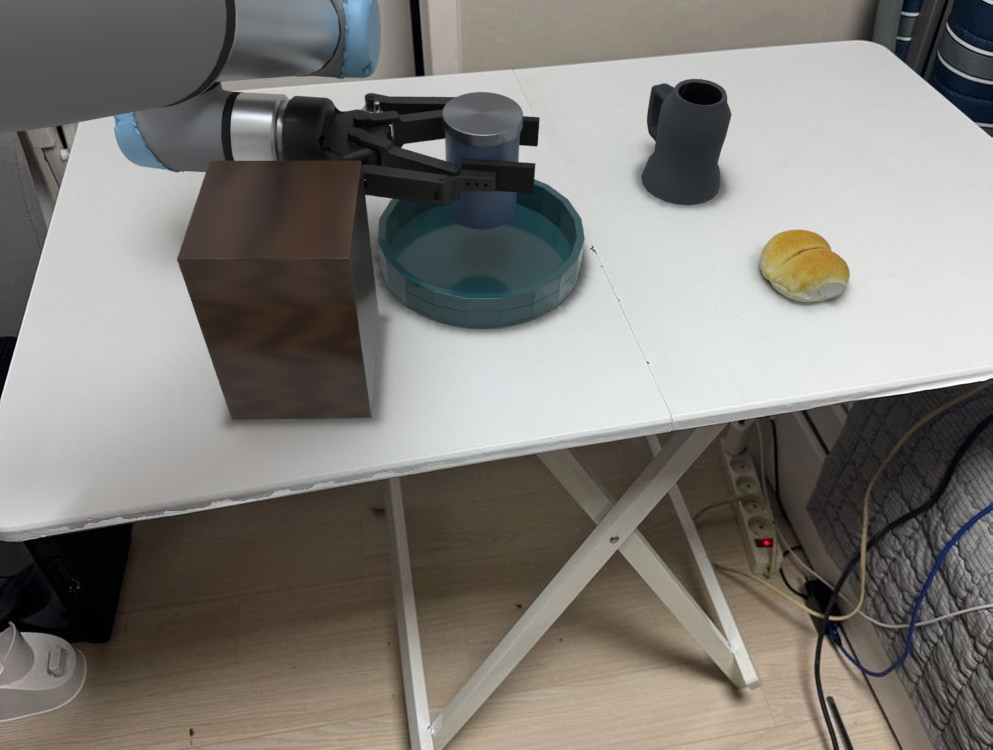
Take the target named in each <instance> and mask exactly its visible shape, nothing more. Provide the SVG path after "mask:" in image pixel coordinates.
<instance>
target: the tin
mask: <svg viewBox="0 0 993 750" xmlns="http://www.w3.org/2000/svg"><path fill="white" fill-rule="evenodd" d="M454 97H455V98H453V99H452V100H450V101H449V102H448V103H447V104H446V105H445V107H444V108H443V111H442V124H443V129H444V131H445V139H444V148H445V149H444V150H445V152H444V153H445V155H444V156H445V161H447V162H451V163H454V164H457V165H459V166H460V169H461V162H462V158H467V159H481V160H496V161H510V162H520V161H519V160H520V145H519V142H520V132H521V130H522V127H523V116H524V111H523V109H522V107H521V106H520V104H518V102H517V101H516V100H514V99H512V98H510V97H508V96H506V95H504V94H500V93H494V92H489V91H476V92H475V91H474V92H467V93H463V94H460V95H457V96H454ZM516 201H517V192H503V191H493V192H483V191H482V192H480V191H466V190H460V199H459V200H457V201H451V200H450V204H449V205H447V211H448V214H449V216H450V217H451V218H452V219H453V220H454V221H455V222H456V223H458V224H460V225H462V226H464V227H467V228H471V229H480V230H485V229H493V228H497V227H500V226H502V225H504V224H506V223H508V222H509V221H510V220H511V219H512V218H513V217H514V215H515V212H516Z"/></svg>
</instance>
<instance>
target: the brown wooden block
mask: <svg viewBox="0 0 993 750" xmlns="http://www.w3.org/2000/svg"><path fill="white" fill-rule="evenodd" d="M366 198H367V197H366V195H365V189H364V180H363V171H362V163H361V161H209V164H208V167H207V170H206V172H204V176H203V180H202V183H201V186H200V189H199V192H198V195H197V198H196V200H195V204H194V206H193V208H192V209H193V210H192V213H191V216H190V219H189V221H188V225H187V228H186V231H185V233H184V235H183V236H184V237H183V239H182V243H181V245H180V247H179V248H180V249H179V252H178V255H177V257H176V261H177V263H178V267H179V269H180V272H181V275H182V278H183V281H184V284H185V288H186V289H187V293H188V295H189V298H190V302H191V304H192V308H193V310H194V313H195V316H196V320H197V323H198V325H199V328H200V331H201V334H202V337H203V340H204V342H205V346H206V349H207V352H208V354H209V358H210V360H211V364H212V366H213V369H214V372H215V375H216V379H217V380H218V383H219V387H220V390H221V392H222V396H223V398H224V401H225V404H226V408H227V410H228V413H229V417H230V418H231V420H234V421H235V420H295V419H297V420H298V419H299V420H300V419H301V420H302V419H303V420H304V419H305V420H306V419H307V420H308V419H309V420H311V419H371V418H372V416H373V404H374V391H375V381H376V380H375V379H376V369H377V368H376V367H377V356H378V354H377V353H378V343H379V329H380V315H379V314H380V313H379V306H378V296H377V288H376V280H375V279H376V278H375V271H374V270H375V269H374V261H373V253H372V244H371V235H370V226H369V217H368V209H367V207H368V206H367V199H366Z"/></svg>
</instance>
